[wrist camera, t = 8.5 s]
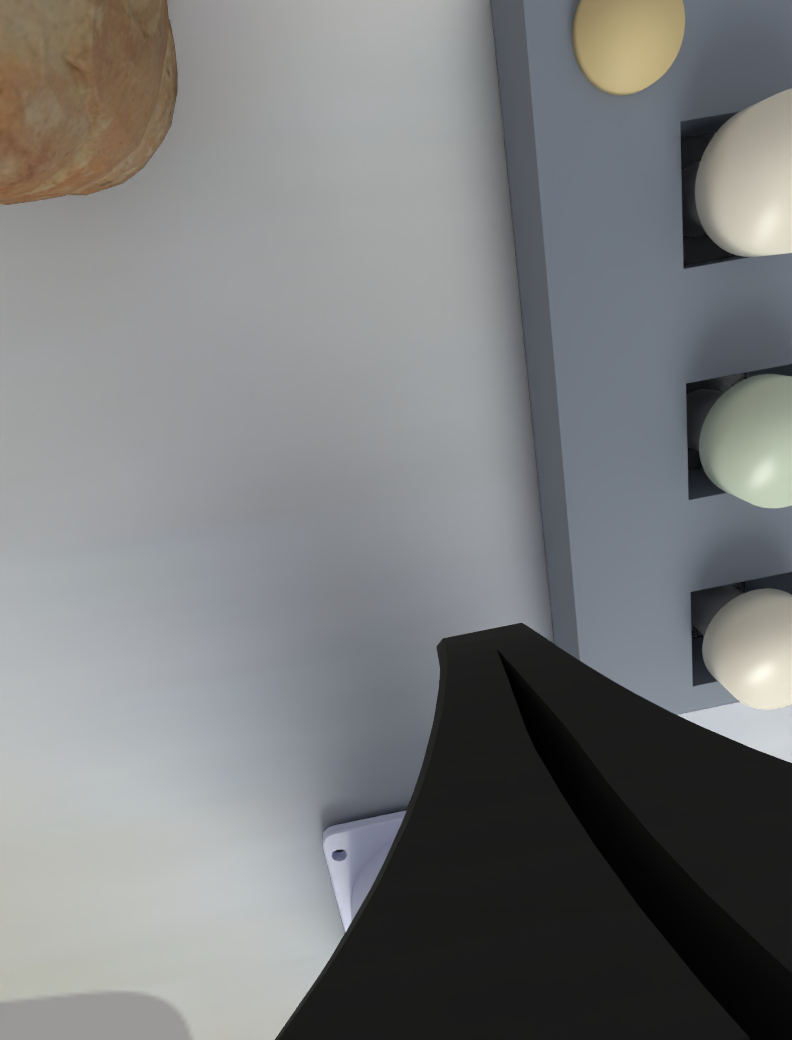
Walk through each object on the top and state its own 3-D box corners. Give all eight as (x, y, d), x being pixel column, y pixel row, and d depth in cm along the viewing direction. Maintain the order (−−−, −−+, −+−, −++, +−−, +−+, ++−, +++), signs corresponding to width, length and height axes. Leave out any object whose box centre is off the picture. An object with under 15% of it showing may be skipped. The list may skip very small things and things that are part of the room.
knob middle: (750, 460, 20) (845, 495, 17) (650, 480, 20) (723, 519, 16) (751, 355, 19) (853, 367, 16) (646, 374, 19) (722, 391, 15)
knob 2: (749, 631, 22) (833, 696, 18) (657, 650, 22) (724, 719, 18) (750, 544, 21) (839, 594, 17) (654, 563, 21) (723, 618, 17)
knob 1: (753, 253, 18) (860, 240, 15) (642, 273, 18) (722, 265, 14) (754, 124, 17) (870, 74, 14) (637, 143, 17) (722, 100, 13)
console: (837, 631, 23) (904, 674, 20) (558, 688, 22) (589, 739, 20) (880, -71, 16) (986, -144, 14) (489, -10, 16) (521, -73, 13)
